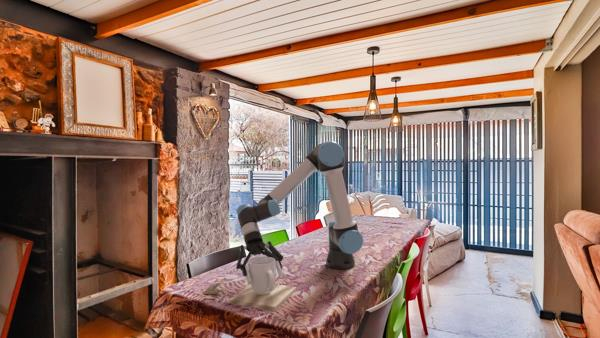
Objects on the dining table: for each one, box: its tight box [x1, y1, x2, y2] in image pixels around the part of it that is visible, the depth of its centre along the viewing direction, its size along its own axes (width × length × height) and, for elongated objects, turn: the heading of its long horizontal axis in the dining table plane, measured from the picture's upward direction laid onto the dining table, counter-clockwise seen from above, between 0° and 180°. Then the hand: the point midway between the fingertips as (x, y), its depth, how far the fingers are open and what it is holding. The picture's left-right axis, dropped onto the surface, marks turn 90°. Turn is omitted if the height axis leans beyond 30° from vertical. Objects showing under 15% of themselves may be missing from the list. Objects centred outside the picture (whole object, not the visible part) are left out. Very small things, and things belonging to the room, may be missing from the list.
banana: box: [202, 277, 227, 296], centre depth 143 cm, size 9×20×2 cm, turn 10°
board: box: [228, 283, 297, 312], centre depth 131 cm, size 20×20×2 cm
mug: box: [248, 256, 277, 295], centre depth 131 cm, size 15×11×13 cm
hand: (266, 279), depth 129 cm, fingers open, 13 cm apart
